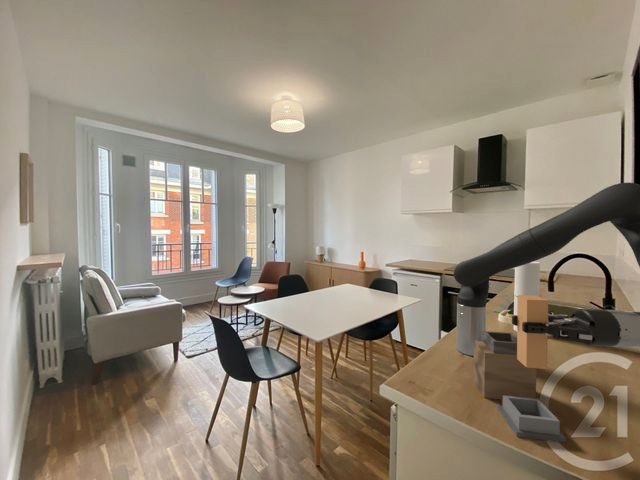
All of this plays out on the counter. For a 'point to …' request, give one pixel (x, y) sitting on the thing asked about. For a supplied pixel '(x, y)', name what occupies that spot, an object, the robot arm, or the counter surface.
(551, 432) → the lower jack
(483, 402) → the counter surface
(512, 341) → the square socket base
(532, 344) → the plug
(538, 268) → the container
